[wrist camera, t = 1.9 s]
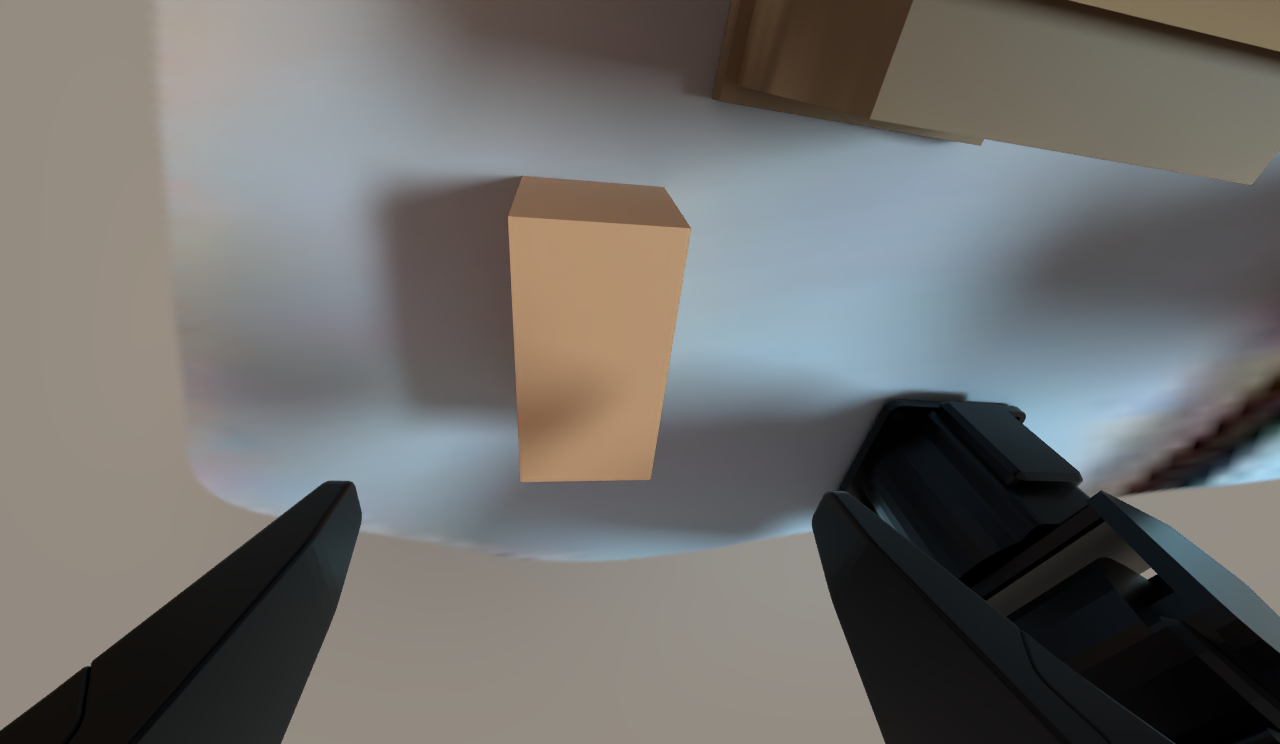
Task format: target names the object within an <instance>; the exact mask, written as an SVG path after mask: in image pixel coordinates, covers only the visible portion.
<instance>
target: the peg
mask: <svg viewBox="0 0 1280 744" xmlns="http://www.w3.org/2000/svg"><path fill="white" fill-rule="evenodd" d="M508 228H509V249H510V270H511V291H512V312H513V332H514V353H515V374H516V395H517V416H518V436H519V457H520V478H521V482H557V481H616V480H651V474H652V468H653V462H654V456H655V450H656V443H657V437H658V431H659V425H660V419H661V412H662V406H663V400H664V394H665V387H666V381H667V375H668V369H669V363H670V356H671V350H672V344H673V338H674V332H675V325H676V319H677V313H678V307H679V300H680V294H681V288H682V282H683V276H684V269H685V263H686V257H687V251H688V245H689V238H690V232H691V227H690V226H689V224H688V223H687V221H686V220H685V218H684V217H683V215H682V214H681V212H680V211H679V209H678V208H677V206H676V205H675V203H674V202H673V200H672V199H671V197H670V196H669V194H668V193H667V191H666V190H665V188H664V187H654V186H641V185H629V184H616V183H604V182H591V181H579V180H566V179H553V178H541V177H528V176H522V179H521V181H520V184H519V187H518V190H517V192H516V195H515V198H514V201H513V204H512V206H511V209H510V212H509V215H508Z"/></svg>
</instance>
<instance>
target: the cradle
mask: <svg viewBox="0 0 1280 744" xmlns="http://www.w3.org/2000/svg"><path fill="white" fill-rule="evenodd" d="M712 99H715V100H718V101H721V102H727V103H733V104H739V105H744V106H750V107H756V108H762V109H768V110H774V111H780V112H786V113H791V114H797V115H803V116H809V117H815V118H821V119H827V120H833V121H838V122H844V123H850V124H856V125H862V126H868V127H874V128H880V129H885V130H891V131H897V132H903V133H909V134H915V135H921V136H927V137H932V138H938V139H944V140H950V141H956V142H962V143H968V144H974V145H980V146H981V144H982V142H983V140H984V139H988V140H994V141H1000V142H1005V143H1011V144H1017V145H1023V146H1028V147H1034V148H1040V149H1046V150H1051V151H1057V152H1063V153H1069V154H1074V155H1080V156H1086V157H1092V158H1098V159H1103V160H1109V161H1115V162H1121V163H1126V164H1132V165H1138V166H1144V167H1149V168H1155V169H1161V170H1167V171H1172V172H1178V173H1184V174H1190V175H1196V176H1201V177H1207V178H1213V179H1219V180H1224V181H1230V182H1236V183H1242V184H1247V185H1252V184H1253V183H1254V182H1255V180H1256V179H1257V178H1258V177H1259V175H1260V174H1261V173H1262V172H1263V171H1264V169H1265V168H1266V167H1267V166H1268V164H1269V163H1270V162H1271V161H1272V159H1273V158H1274V157H1275V156H1276V154H1277V153H1278V152H1279V151H1280V0H732V2H731V7H730V12H729V16H728V21H727V26H726V31H725V36H724V41H723V46H722V51H721V56H720V61H719V65H718V70H717V75H716V80H715V85H714V90H713V95H712Z"/></svg>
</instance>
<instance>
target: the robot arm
mask: <svg viewBox="0 0 1280 744" xmlns="http://www.w3.org/2000/svg"><path fill="white" fill-rule="evenodd" d="M1025 418H1026V415H1025V413H1024V412H1022V411H1021V410H1020V409H1019V408H1017V407H1015V406H1004V405H999V404H988V403H970V402H952V401H949V402H933V401H916V400H893V401H891V402H889V403H888V404H886V405H885V406H884V408H883V409H882V411H881V413H880V414H879V416H878V418H877V420H876V422H875V424H874V426H873V427H872V429H871V431H870V433H869V435H868V437H867V439H866V440H865V442H864V444H863V446H862V448H861V450H860V452H859V453H858V455H857V457H856V459H855V461H854V463H853V465H852V466H851V468H850V470H849V472H848V474H847V476H846V478H845V479H844V481H843V483H842V485H841V487H840V489H839V491H828V492H826V493H825V494H824V496H823V497H822V499H821V501H820V503H819V505H818V507H817V509H816V511H815V513H814V515H813V518H812V529H813V533H814V537H815V540H816V544H817V548H818V551H819V555H820V559H821V563H822V567H823V570H824V574H825V578H826V582H827V585H828V589H829V592H830V595H831V599H832V602H833V605H834V608H835V610H836V613H837V616H838V619H839V621H840V624H841V626H842V629H843V632H844V634H845V637H846V640H847V643H848V645H849V648H850V650H851V653H852V656H853V659H854V661H855V664H856V667H857V669H858V672H859V675H860V677H861V679H862V682H863V685H864V687H865V690H866V693H867V696H868V698H869V701H870V704H871V706H872V709H873V712H874V714H875V717H876V720H877V722H878V725H879V727H880V730H881V733H882V736H883V738H884V741H885V744H1280V617H1279V616H1278V615H1277V614H1276V613H1275V612H1274V611H1273V610H1272V609H1271V608H1270V607H1269V606H1268V605H1267V604H1266V603H1265V602H1264V601H1263V600H1262V599H1261V598H1260V597H1259V596H1258V595H1257V594H1256V593H1255V592H1254V591H1253V590H1252V589H1251V588H1250V587H1249V586H1247V585H1246V584H1245V583H1244V582H1243V581H1241V580H1240V579H1239V578H1237V577H1236V576H1235V575H1234V574H1232V573H1231V572H1230V571H1228V570H1227V569H1226V568H1225V567H1223V566H1222V565H1221V564H1219V563H1218V562H1217V561H1215V560H1214V559H1213V558H1211V557H1210V556H1209V555H1208V554H1206V553H1205V552H1204V551H1202V550H1201V549H1200V548H1198V547H1197V546H1196V545H1195V544H1193V543H1192V542H1191V541H1189V540H1188V539H1187V538H1185V537H1184V536H1183V535H1181V534H1180V533H1179V532H1178V531H1176V530H1175V529H1173V528H1172V527H1171V526H1169V525H1167V524H1165V523H1163V522H1162V521H1160V520H1158V519H1156V518H1154V517H1152V516H1150V515H1148V514H1146V513H1144V512H1142V511H1140V510H1139V509H1137V508H1135V507H1133V506H1131V505H1129V504H1127V503H1125V502H1123V501H1121V500H1119V499H1117V498H1115V497H1113V496H1112V495H1110V494H1108V493H1106V492H1104V491H1102V490H1101V491H1100V492H1098V493H1097V494H1096V495H1094V496H1093V497H1091V498H1090V497H1089V496H1087V495H1086V494H1085V493H1084V492H1083V491H1082V490H1081V489H1079V488H1078V486H1079V485H1080V483H1081V482H1082V481H1083V479H1082V477H1081V474H1080V472H1079V471H1078V470H1077V469H1075V468H1074V467H1073V466H1072V465H1071V464H1069V463H1068V462H1067V461H1066V460H1065V459H1064V458H1062V457H1061V456H1060V455H1059V454H1058V453H1056V452H1055V451H1054V450H1053V449H1052V448H1050V447H1049V446H1048V445H1047V444H1046V443H1045V442H1043V441H1042V440H1041V439H1040V438H1039V437H1037V436H1036V435H1035V434H1034V433H1033V432H1032V431H1030V430H1029V429H1028V428H1027V427H1026V426H1024V425H1023V424H1022V423H1023V422H1024V420H1025ZM361 521H362V512H361V507H360V503H359V499H358V495H357V491H356V487H355V485H354V483H353V482H351V481H327V482H325V483H323V484H321V485H320V486H319V487H317V488H316V489H315V490H314V491H312V492H311V493H310V494H308V495H307V496H306V497H304V498H303V499H302V500H301V501H299V502H298V503H297V504H295V505H294V506H293V507H291V508H290V509H289V510H288V511H286V512H285V513H284V514H282V515H281V516H280V517H278V518H277V519H276V520H275V521H273V522H272V523H271V524H269V525H268V526H267V527H266V528H264V529H263V530H262V531H261V532H259V533H258V534H256V535H255V536H254V537H253V538H251V539H250V540H249V541H247V542H246V543H245V544H243V546H241V547H240V548H238V549H237V550H236V551H235V552H233V553H232V554H231V555H229V556H228V557H227V558H225V559H224V560H223V561H221V562H220V563H219V564H218V565H216V566H215V567H214V568H212V569H211V570H210V571H208V572H207V573H206V574H205V575H203V576H202V577H201V578H199V579H198V580H197V581H196V582H194V583H193V584H192V585H190V586H189V587H188V588H186V589H185V590H184V591H183V592H181V593H180V594H179V595H177V596H176V597H175V598H173V599H172V600H171V601H170V602H168V603H167V604H166V605H164V606H163V607H162V608H161V609H159V610H158V611H157V612H155V613H154V614H153V615H151V616H150V617H149V618H147V619H146V620H145V621H144V622H142V623H141V624H140V625H139V626H137V627H136V628H135V629H133V630H132V631H131V632H129V633H128V634H127V635H125V636H124V637H123V638H122V639H120V640H119V641H118V642H116V643H115V644H114V645H112V646H111V647H110V648H109V649H107V650H106V651H105V652H103V653H102V654H101V655H100V656H98V657H97V658H96V659H94V660H93V661H92V663H91V667H90V666H87V667H84V668H82V669H81V670H80V671H78V672H77V673H76V674H75V675H73V676H72V677H71V678H69V679H68V680H67V681H66V682H64V683H63V684H62V685H60V686H59V687H58V688H57V689H55V690H54V691H52V692H51V693H50V694H49V695H47V696H46V697H45V698H43V699H42V700H41V701H39V702H38V703H37V704H35V705H34V706H33V707H31V708H30V709H29V710H27V711H26V712H24V713H23V714H22V715H21V716H19V717H18V718H16V719H15V720H14V721H12V722H11V723H10V724H9V725H7V726H6V727H4V728H3V729H2V730H0V744H281V742H282V740H283V737H284V735H285V732H286V730H287V728H288V725H289V723H290V720H291V718H292V715H293V713H294V711H295V708H296V706H297V704H298V701H299V699H300V696H301V694H302V692H303V689H304V687H305V684H306V682H307V679H308V677H309V675H310V672H311V670H312V667H313V665H314V662H315V660H316V658H317V655H318V653H319V651H320V648H321V646H322V643H323V641H324V639H325V636H326V633H327V631H328V629H329V626H330V624H331V621H332V619H333V616H334V614H335V611H336V608H337V605H338V602H339V598H340V595H341V592H342V588H343V585H344V581H345V578H346V574H347V571H348V567H349V564H350V560H351V557H352V553H353V550H354V547H355V543H356V540H357V536H358V533H359V529H360V526H361ZM1149 568H1152V569H1153V570H1154V571H1155V572H1156V573H1157V575H1155V576H1154V577H1152V578H1150V579H1148V580H1147V579H1145V578H1144V577H1142V576H1141V575H1139V574H1141V573H1142V572H1144V571H1146V570H1147V569H1149Z"/></svg>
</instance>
